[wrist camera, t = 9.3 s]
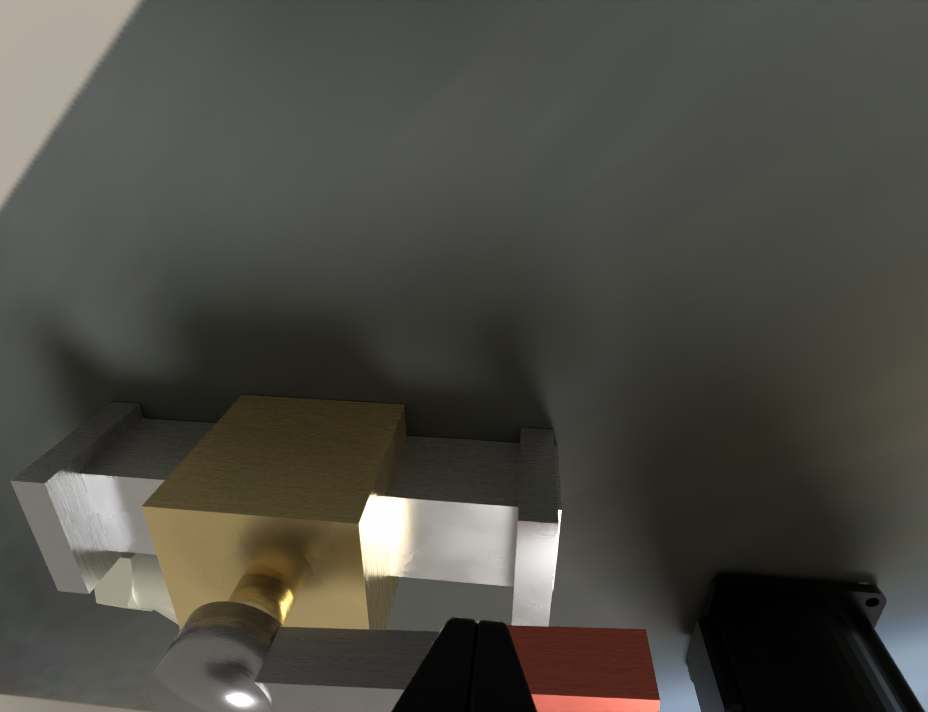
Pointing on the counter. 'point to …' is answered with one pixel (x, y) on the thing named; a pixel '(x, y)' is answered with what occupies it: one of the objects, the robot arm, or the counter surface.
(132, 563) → the pipe fitting
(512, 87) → the counter surface
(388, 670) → the lever
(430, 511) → the valve
